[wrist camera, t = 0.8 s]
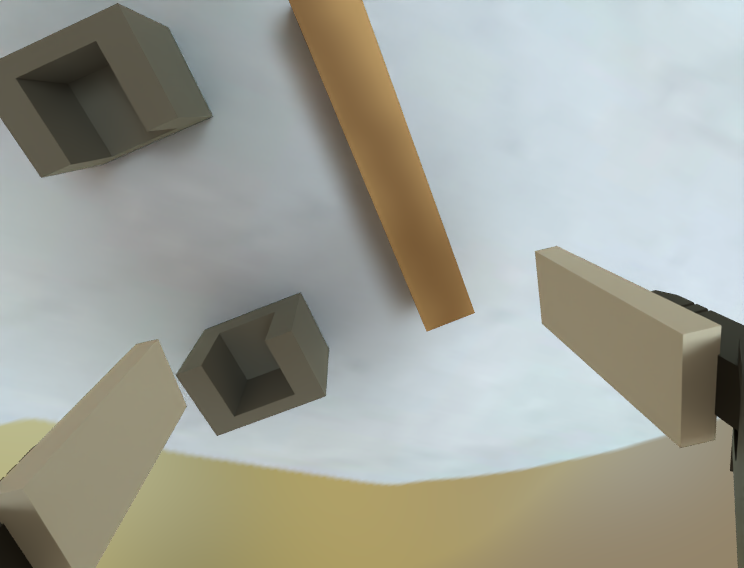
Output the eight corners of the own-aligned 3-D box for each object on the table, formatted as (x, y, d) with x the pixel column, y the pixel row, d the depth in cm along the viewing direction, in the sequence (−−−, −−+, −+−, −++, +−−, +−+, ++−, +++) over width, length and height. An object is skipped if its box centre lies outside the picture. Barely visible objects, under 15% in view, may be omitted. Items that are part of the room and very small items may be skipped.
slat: (343, -19, 27) (342, -53, 21) (454, 280, 35) (474, 312, 29) (293, 5, 27) (279, -22, 22) (414, 297, 35) (426, 331, 30)
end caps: (168, 27, 27) (117, 3, 21) (328, 348, 36) (325, 396, 30) (51, 81, 28) (-31, 72, 22) (237, 383, 37) (216, 435, 31)
